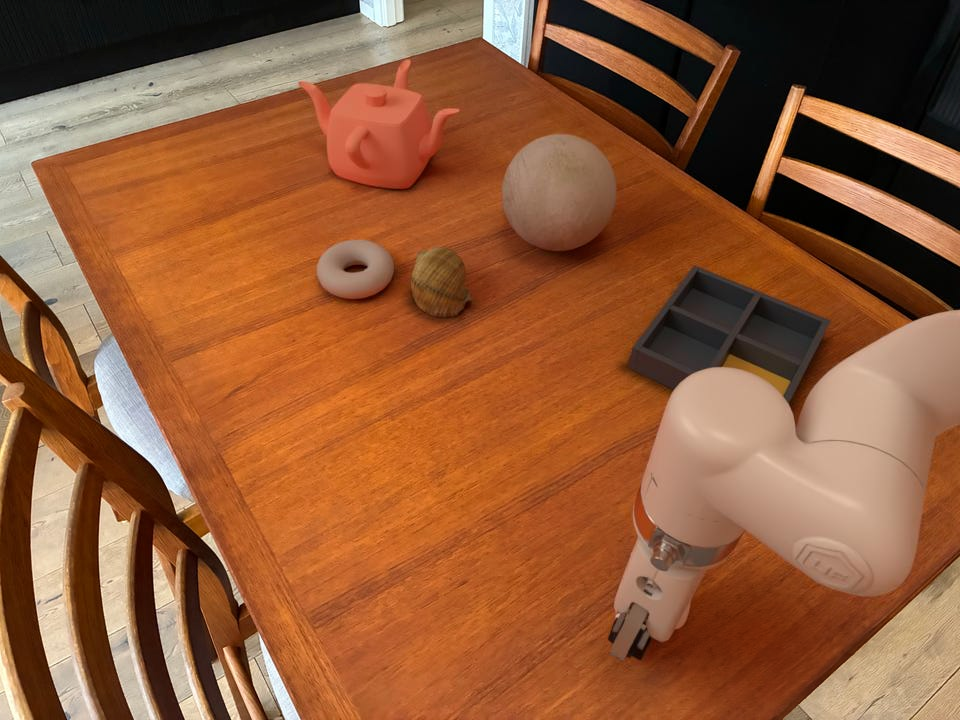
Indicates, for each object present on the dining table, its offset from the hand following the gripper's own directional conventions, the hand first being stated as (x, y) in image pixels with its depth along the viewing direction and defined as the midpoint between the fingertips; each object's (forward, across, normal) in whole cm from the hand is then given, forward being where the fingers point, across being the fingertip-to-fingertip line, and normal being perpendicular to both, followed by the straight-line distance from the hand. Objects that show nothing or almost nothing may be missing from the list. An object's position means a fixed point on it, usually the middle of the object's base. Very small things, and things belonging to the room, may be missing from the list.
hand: (644, 612), depth 65 cm
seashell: (+1, +24, +40) cm, 47 cm away
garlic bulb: (+1, 0, 0) cm, 1 cm away
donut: (+1, +20, +51) cm, 55 cm away
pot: (+1, +43, +65) cm, 78 cm away
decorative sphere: (+1, +42, +34) cm, 54 cm away
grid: (+1, +35, +6) cm, 35 cm away
